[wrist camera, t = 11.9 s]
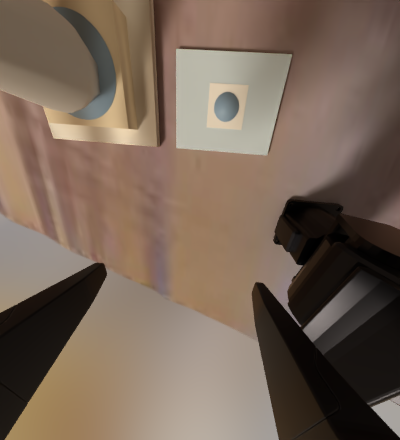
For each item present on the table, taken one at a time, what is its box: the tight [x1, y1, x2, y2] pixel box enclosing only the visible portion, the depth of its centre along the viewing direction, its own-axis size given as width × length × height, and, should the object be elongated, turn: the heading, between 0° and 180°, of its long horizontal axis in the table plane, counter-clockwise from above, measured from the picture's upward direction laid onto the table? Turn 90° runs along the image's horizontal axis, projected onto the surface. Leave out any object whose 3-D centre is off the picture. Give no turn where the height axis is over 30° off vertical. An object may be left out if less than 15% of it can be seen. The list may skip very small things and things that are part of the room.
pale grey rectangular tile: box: [176, 49, 292, 155], centre depth 16 cm, size 10×8×1 cm
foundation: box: [42, 0, 160, 147], centre depth 15 cm, size 12×11×3 cm
